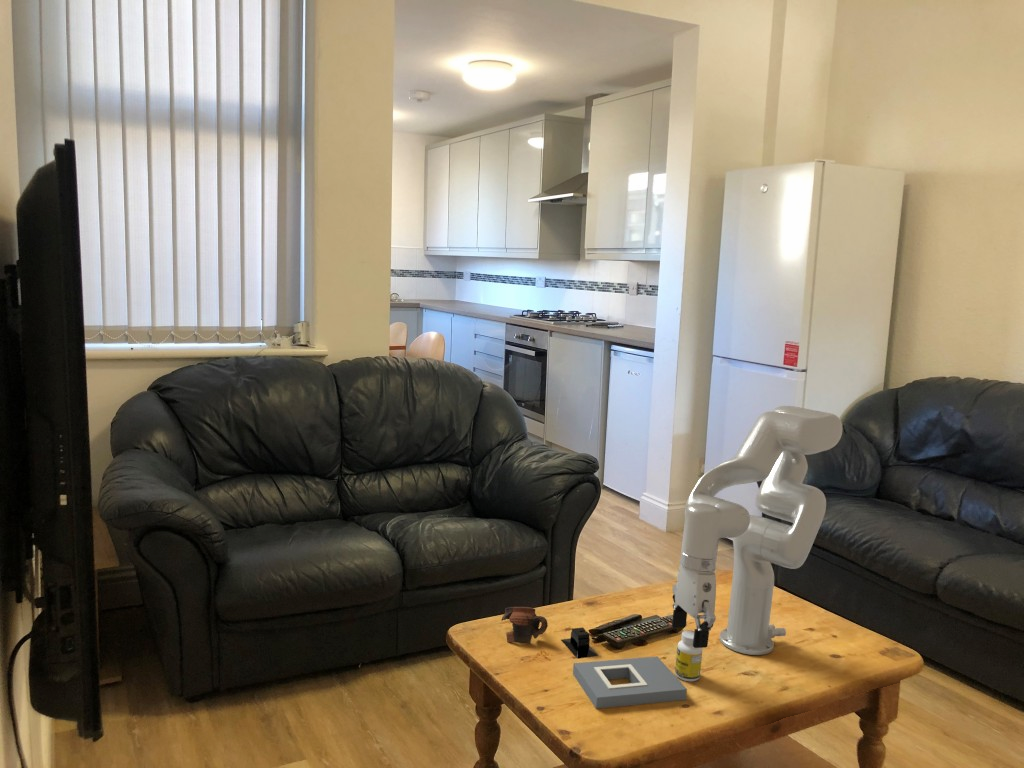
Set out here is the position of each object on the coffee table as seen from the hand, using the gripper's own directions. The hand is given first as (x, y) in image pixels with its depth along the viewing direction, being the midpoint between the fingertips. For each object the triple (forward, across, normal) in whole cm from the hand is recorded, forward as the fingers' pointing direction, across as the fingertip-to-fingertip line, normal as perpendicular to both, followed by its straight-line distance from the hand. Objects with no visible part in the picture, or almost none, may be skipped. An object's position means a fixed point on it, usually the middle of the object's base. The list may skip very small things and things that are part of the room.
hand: (688, 636), depth 174 cm
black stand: (+10, +17, +18) cm, 27 cm away
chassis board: (+10, -1, +14) cm, 17 cm away
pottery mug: (+10, +24, +30) cm, 40 cm away
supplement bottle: (+10, +1, -1) cm, 10 cm away
